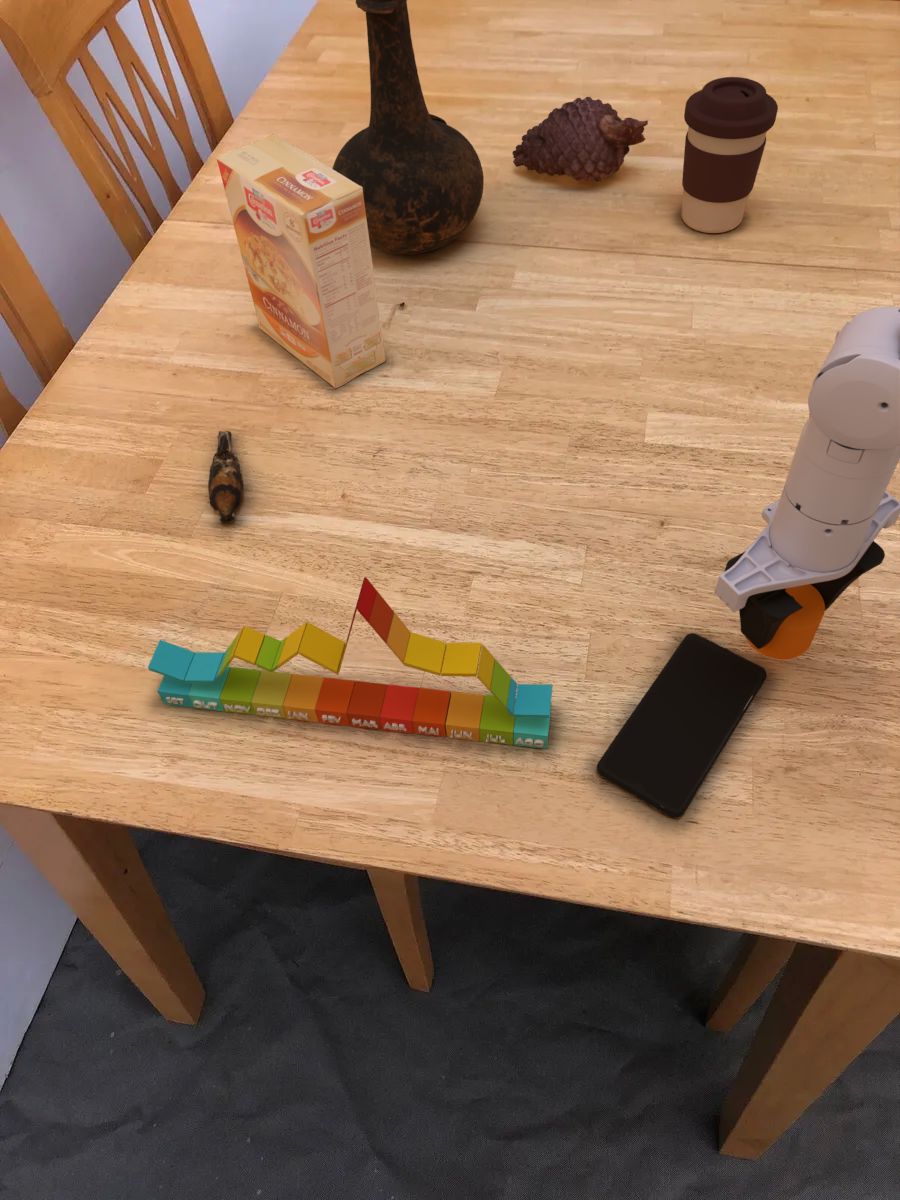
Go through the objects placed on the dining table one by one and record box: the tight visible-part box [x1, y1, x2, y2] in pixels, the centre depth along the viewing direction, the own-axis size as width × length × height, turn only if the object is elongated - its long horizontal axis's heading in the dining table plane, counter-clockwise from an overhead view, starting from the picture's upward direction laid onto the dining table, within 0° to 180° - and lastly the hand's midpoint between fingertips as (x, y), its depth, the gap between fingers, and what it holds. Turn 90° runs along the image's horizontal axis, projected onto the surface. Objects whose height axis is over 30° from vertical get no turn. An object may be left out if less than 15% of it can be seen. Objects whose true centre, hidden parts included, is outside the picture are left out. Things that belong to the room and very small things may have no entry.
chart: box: [147, 576, 554, 750], centre depth 66 cm, size 30×3×15 cm, turn 81°
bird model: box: [207, 430, 244, 524], centre depth 87 cm, size 3×13×3 cm, turn 6°
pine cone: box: [511, 96, 649, 183], centre depth 118 cm, size 18×10×10 cm
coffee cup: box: [681, 76, 779, 234], centre depth 107 cm, size 10×10×15 cm
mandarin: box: [745, 584, 826, 661], centre depth 68 cm, size 5×5×4 cm
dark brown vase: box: [332, 0, 485, 256], centre depth 103 cm, size 18×18×28 cm
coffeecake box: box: [215, 133, 386, 389], centre depth 93 cm, size 15×7×20 cm, turn 40°
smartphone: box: [596, 632, 768, 819], centre depth 69 cm, size 7×1×15 cm
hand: (782, 621), depth 69 cm, fingers closed on mandarin, 5 cm apart
